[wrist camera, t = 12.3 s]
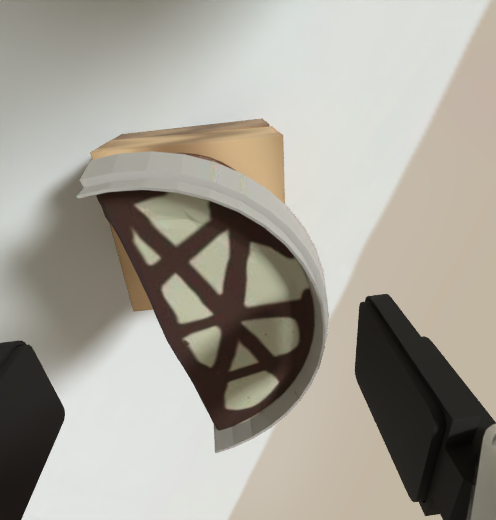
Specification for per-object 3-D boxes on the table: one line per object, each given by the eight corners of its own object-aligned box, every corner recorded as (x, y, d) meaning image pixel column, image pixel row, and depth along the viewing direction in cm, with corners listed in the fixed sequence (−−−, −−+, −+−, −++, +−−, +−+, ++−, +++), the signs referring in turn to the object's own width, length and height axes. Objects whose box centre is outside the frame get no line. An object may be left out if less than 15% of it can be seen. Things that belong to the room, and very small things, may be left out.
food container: (305, 290, 23) (364, 421, 14) (216, 316, 23) (219, 461, 14) (255, 90, 17) (301, 100, 8) (138, 128, 18) (64, 176, 9)
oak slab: (271, 126, 22) (283, 135, 18) (277, 265, 27) (286, 294, 23) (110, 140, 22) (90, 152, 18) (144, 280, 26) (133, 311, 23)
